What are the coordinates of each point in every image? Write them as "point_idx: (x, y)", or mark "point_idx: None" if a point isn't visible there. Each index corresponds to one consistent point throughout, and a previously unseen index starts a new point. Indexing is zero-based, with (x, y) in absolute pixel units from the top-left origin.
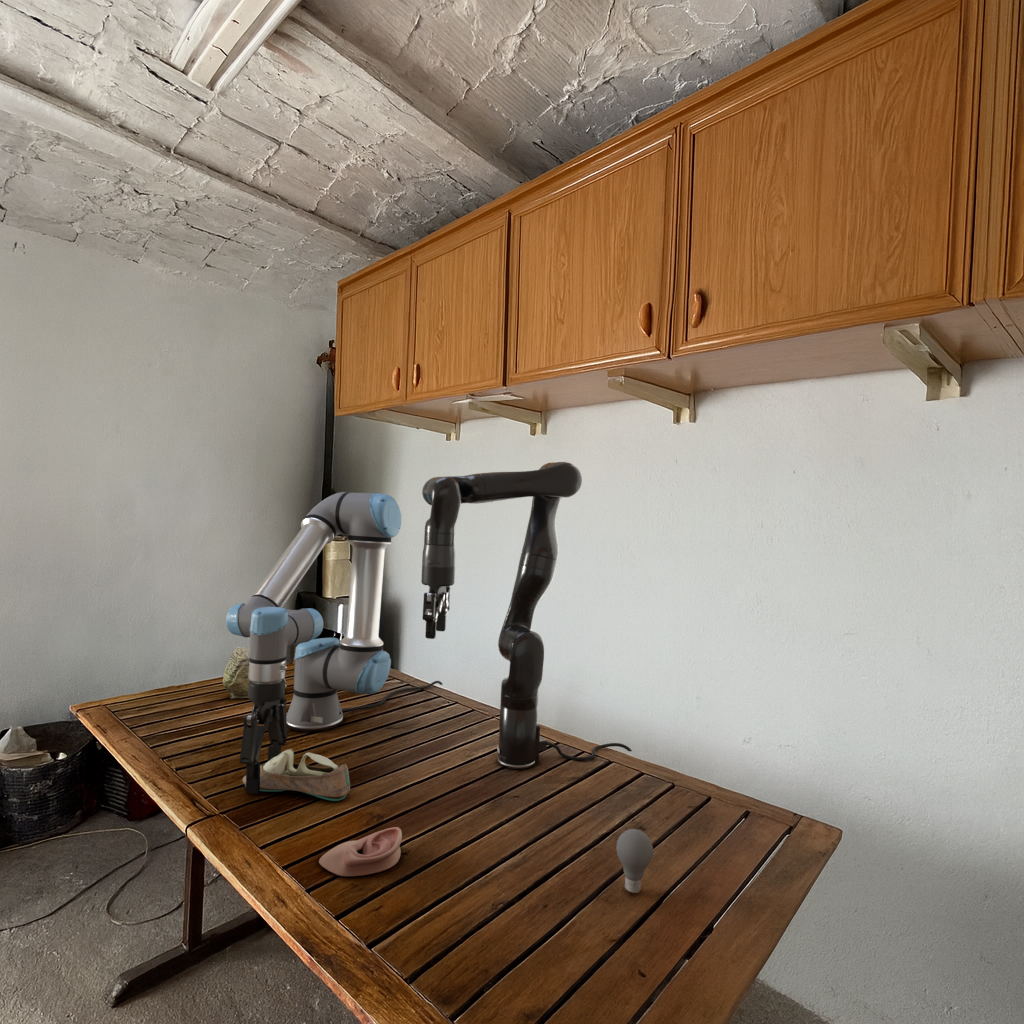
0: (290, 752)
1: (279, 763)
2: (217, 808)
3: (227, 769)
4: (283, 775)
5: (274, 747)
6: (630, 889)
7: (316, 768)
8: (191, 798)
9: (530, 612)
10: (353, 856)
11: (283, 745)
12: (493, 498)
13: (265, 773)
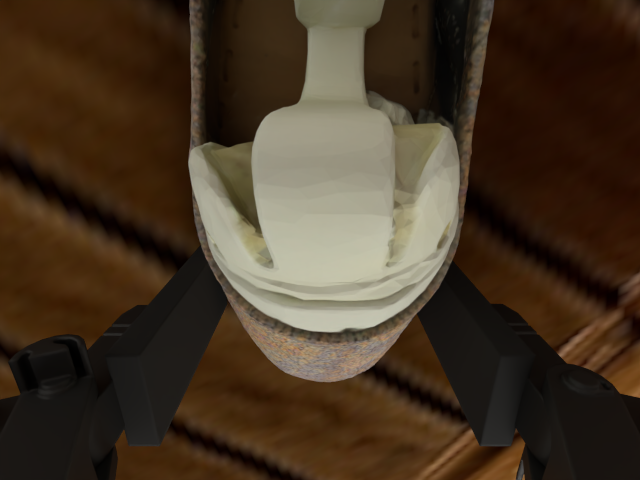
0: (321, 130)
1: (459, 183)
2: (570, 338)
3: (220, 470)
4: (476, 101)
5: (148, 397)
6: None
7: None
8: (486, 456)
9: None
10: None
11: (85, 344)
12: None
13: (447, 264)
